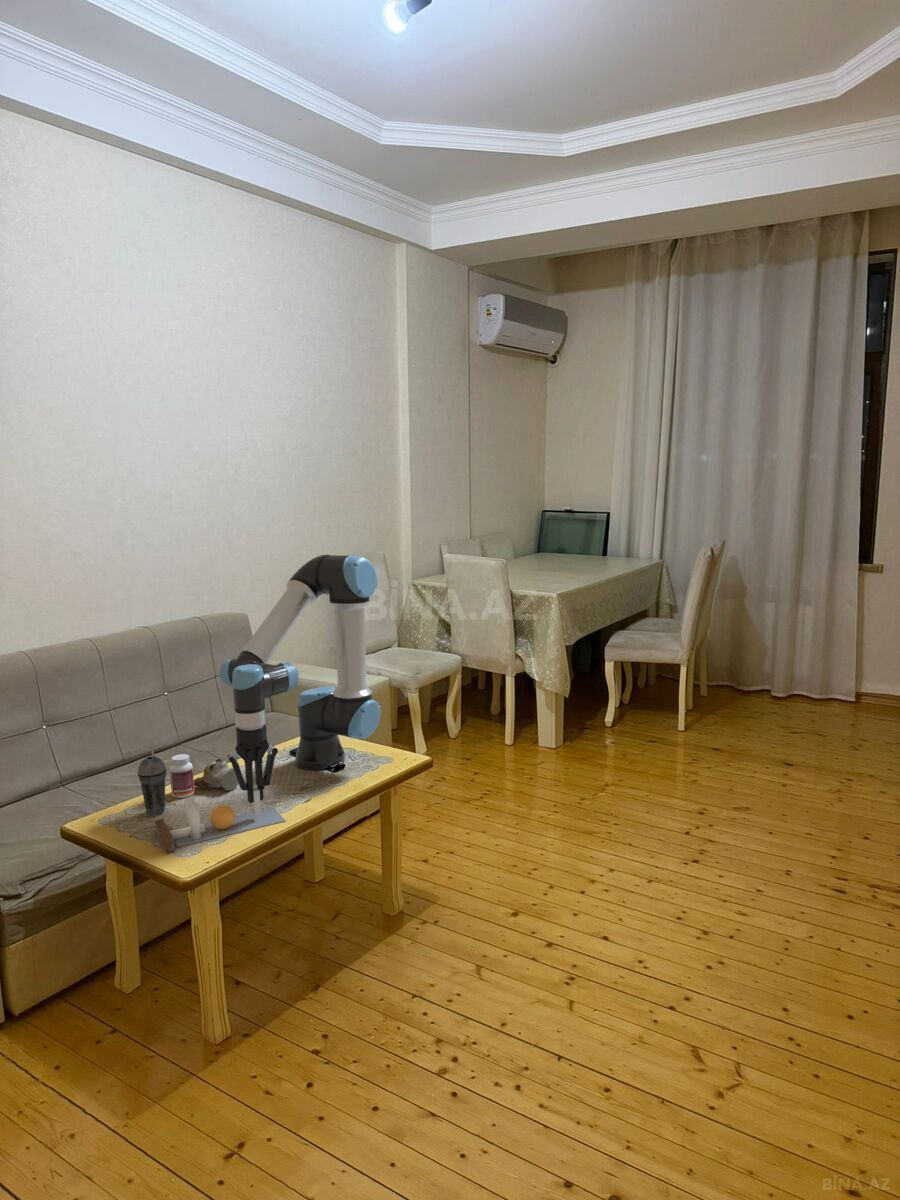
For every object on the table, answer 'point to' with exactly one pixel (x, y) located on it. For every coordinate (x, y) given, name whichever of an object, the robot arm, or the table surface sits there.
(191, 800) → the back pin right
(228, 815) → the ball
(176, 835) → the front pin
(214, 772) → the ceramic sculpture
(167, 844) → the back wall
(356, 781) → the table surface
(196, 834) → the back pin left
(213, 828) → the lane mat
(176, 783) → the pill bottle
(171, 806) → the table surface
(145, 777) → the beverage cup
